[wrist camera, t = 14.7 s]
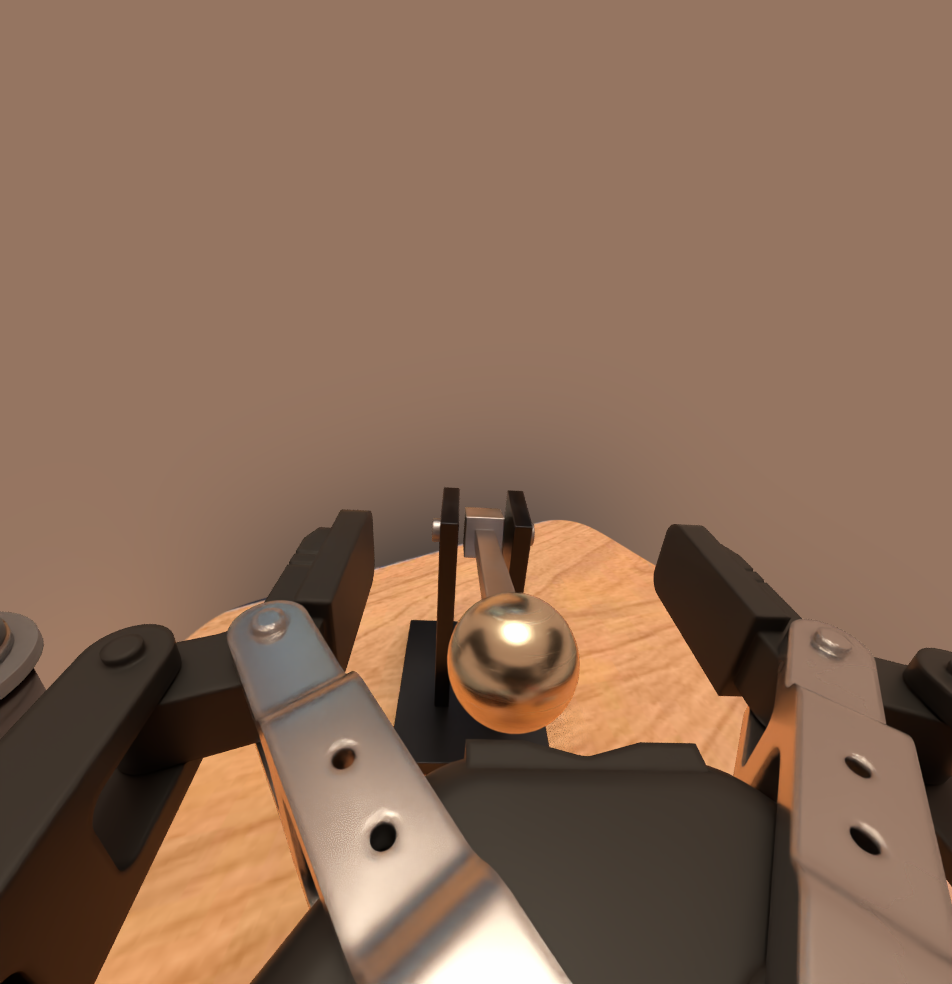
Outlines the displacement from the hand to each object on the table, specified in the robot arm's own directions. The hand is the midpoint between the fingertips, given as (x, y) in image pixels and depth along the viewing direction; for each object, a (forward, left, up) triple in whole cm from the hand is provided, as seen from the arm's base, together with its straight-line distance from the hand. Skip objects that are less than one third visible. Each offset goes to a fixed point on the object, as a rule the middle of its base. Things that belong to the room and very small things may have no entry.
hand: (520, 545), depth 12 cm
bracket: (0, +12, -21) cm, 24 cm away
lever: (0, +5, -7) cm, 8 cm away
